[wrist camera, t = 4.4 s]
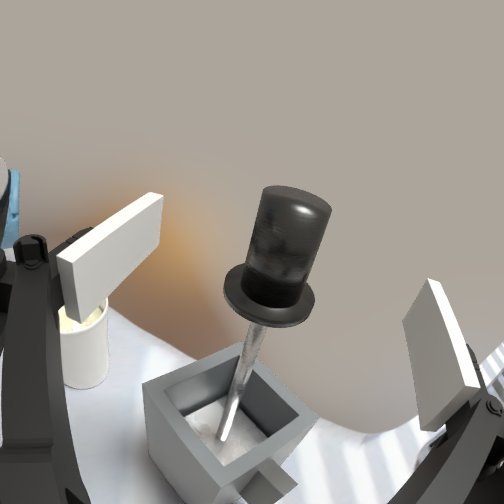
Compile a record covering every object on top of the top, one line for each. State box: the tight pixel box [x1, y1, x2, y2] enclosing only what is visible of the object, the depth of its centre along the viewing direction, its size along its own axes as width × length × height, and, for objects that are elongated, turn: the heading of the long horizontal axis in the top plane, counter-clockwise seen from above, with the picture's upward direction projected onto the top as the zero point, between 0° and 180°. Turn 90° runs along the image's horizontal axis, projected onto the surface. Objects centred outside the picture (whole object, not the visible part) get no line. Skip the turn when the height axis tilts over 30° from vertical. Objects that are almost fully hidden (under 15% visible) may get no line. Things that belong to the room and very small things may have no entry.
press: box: [142, 342, 320, 504], centre depth 26 cm, size 13×10×16 cm
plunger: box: [184, 186, 332, 466], centre depth 20 cm, size 7×7×23 cm
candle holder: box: [58, 298, 110, 389], centre depth 35 cm, size 10×10×12 cm
